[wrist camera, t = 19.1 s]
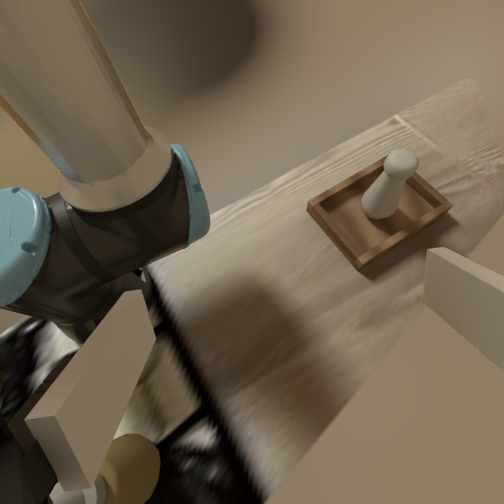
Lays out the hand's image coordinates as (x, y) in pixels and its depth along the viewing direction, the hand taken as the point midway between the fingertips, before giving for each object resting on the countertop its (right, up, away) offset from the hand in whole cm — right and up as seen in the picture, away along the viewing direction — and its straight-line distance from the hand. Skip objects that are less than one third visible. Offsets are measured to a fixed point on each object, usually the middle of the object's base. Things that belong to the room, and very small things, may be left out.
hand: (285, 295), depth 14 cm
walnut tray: (+20, +9, +38) cm, 44 cm away
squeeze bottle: (-16, -26, +25) cm, 40 cm away
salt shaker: (+20, +9, +38) cm, 44 cm away
